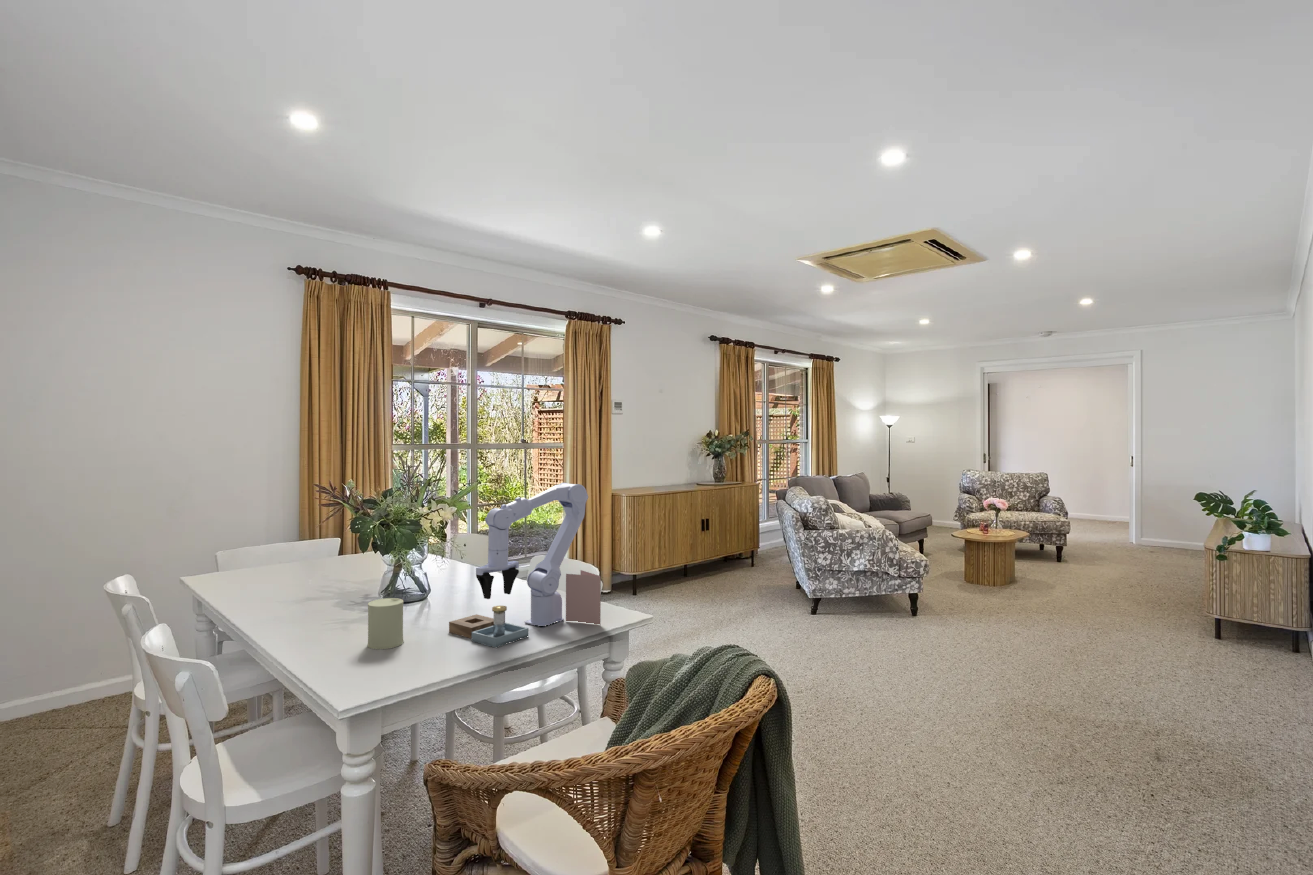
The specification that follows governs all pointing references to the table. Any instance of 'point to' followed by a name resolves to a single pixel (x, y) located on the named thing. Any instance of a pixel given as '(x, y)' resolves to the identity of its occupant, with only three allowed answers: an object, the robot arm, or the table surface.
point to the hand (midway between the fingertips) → (497, 596)
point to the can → (385, 623)
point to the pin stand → (469, 625)
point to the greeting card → (583, 597)
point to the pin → (499, 620)
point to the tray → (510, 635)
